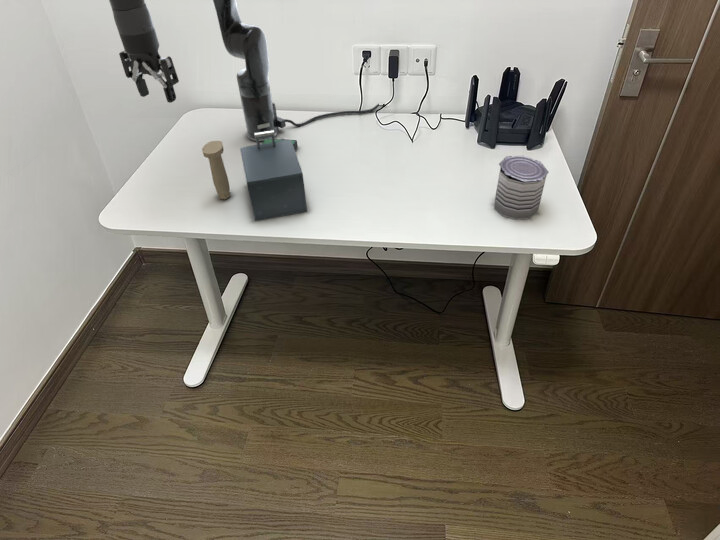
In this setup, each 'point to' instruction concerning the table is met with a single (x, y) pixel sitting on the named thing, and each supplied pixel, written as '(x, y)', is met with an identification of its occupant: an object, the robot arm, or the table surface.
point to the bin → (278, 198)
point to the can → (519, 187)
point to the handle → (217, 167)
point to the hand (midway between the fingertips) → (158, 98)
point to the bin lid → (269, 160)
